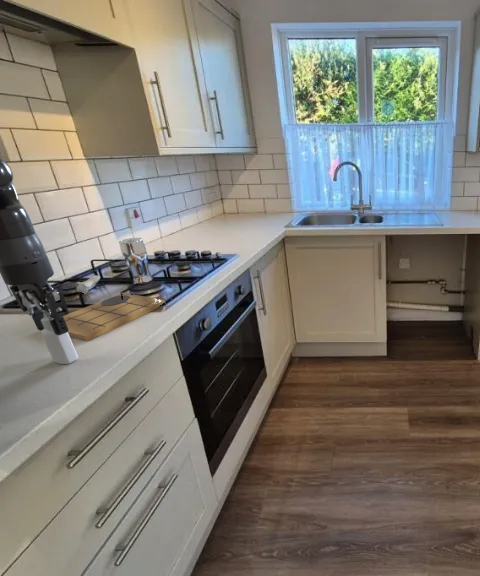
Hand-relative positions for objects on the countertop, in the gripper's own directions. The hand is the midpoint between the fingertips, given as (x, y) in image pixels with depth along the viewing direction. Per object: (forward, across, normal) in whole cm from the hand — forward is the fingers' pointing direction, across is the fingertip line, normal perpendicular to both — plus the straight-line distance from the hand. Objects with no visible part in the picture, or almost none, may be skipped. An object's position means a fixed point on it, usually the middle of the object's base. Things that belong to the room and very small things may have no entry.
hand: (53, 330), depth 79 cm
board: (+8, -13, +18) cm, 23 cm away
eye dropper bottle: (+8, 0, 0) cm, 8 cm away
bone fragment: (+8, -40, +30) cm, 51 cm away
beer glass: (+8, -28, +40) cm, 49 cm away
